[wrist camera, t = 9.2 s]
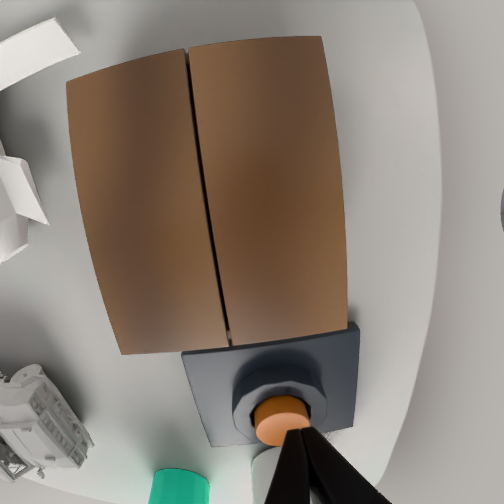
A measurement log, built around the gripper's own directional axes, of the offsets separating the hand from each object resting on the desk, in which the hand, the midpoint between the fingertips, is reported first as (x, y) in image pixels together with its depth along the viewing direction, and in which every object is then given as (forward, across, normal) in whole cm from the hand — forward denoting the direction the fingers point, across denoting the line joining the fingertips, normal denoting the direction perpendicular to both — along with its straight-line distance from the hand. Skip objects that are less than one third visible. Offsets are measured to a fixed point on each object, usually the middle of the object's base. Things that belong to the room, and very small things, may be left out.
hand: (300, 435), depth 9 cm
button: (+9, 0, +9) cm, 13 cm away
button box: (+12, 0, +8) cm, 15 cm away
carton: (+12, +2, -6) cm, 14 cm away
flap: (+6, 0, -6) cm, 9 cm away
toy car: (+12, +26, +10) cm, 30 cm away
